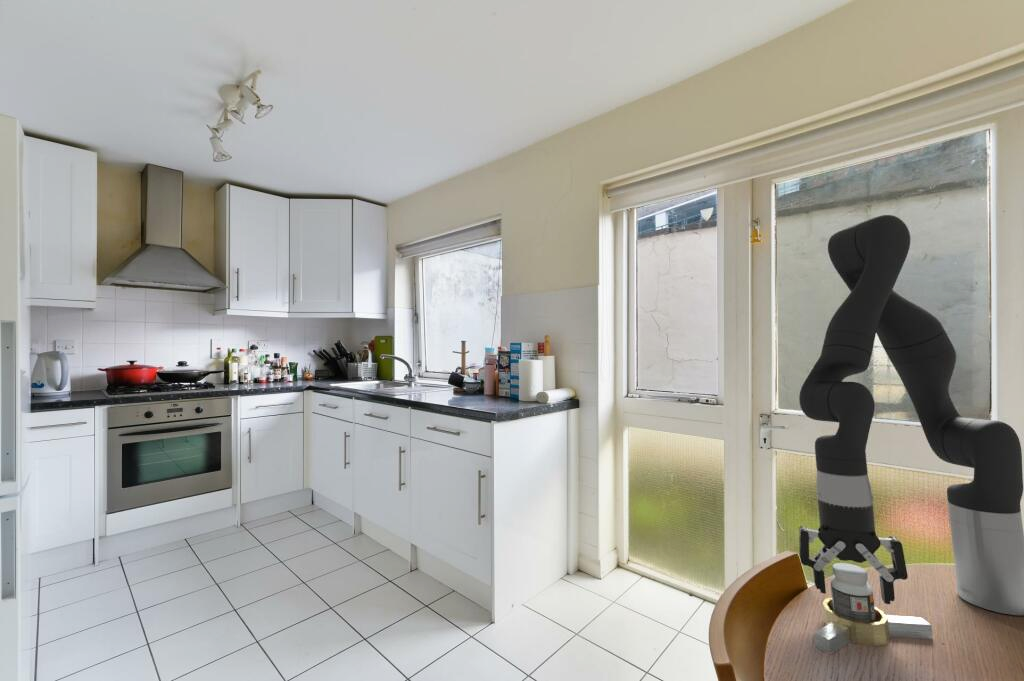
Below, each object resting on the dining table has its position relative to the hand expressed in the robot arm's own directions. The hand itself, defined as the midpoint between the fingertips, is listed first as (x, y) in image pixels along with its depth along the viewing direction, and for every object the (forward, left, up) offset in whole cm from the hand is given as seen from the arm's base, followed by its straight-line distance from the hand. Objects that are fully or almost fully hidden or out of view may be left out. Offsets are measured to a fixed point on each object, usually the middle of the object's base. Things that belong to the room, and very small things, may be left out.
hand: (853, 596), depth 73 cm
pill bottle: (0, 0, -6) cm, 6 cm away
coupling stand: (0, 0, -5) cm, 5 cm away
